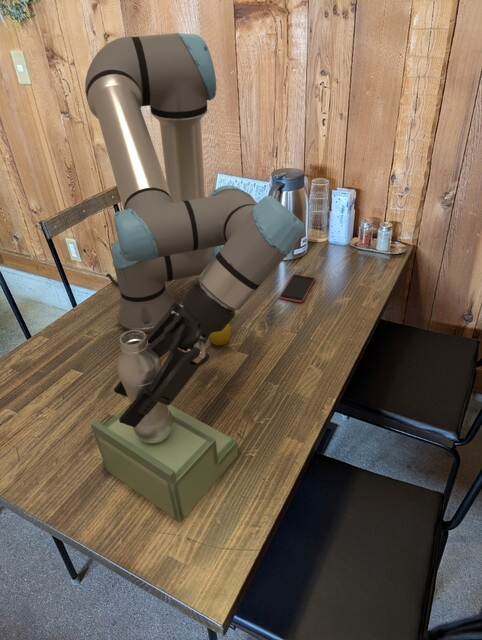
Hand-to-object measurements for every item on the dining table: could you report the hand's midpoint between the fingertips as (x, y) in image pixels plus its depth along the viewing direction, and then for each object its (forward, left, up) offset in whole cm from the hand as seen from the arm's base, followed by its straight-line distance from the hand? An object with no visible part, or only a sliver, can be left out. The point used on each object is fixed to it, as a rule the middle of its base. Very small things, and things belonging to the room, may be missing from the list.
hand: (124, 407), depth 69 cm
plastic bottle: (+2, +3, -8) cm, 8 cm away
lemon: (-12, +38, -18) cm, 44 cm away
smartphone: (-9, +71, -18) cm, 74 cm away
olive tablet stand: (+2, +6, -18) cm, 19 cm away
